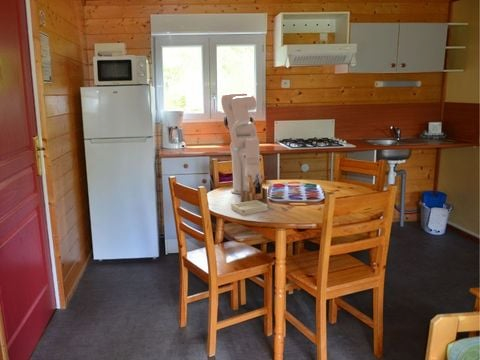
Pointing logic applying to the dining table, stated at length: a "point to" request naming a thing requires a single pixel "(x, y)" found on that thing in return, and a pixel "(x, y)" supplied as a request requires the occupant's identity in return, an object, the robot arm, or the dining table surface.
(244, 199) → the holder
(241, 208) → the tray
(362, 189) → the dining table surface
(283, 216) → the dining table surface
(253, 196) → the candy box
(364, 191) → the dining table surface
